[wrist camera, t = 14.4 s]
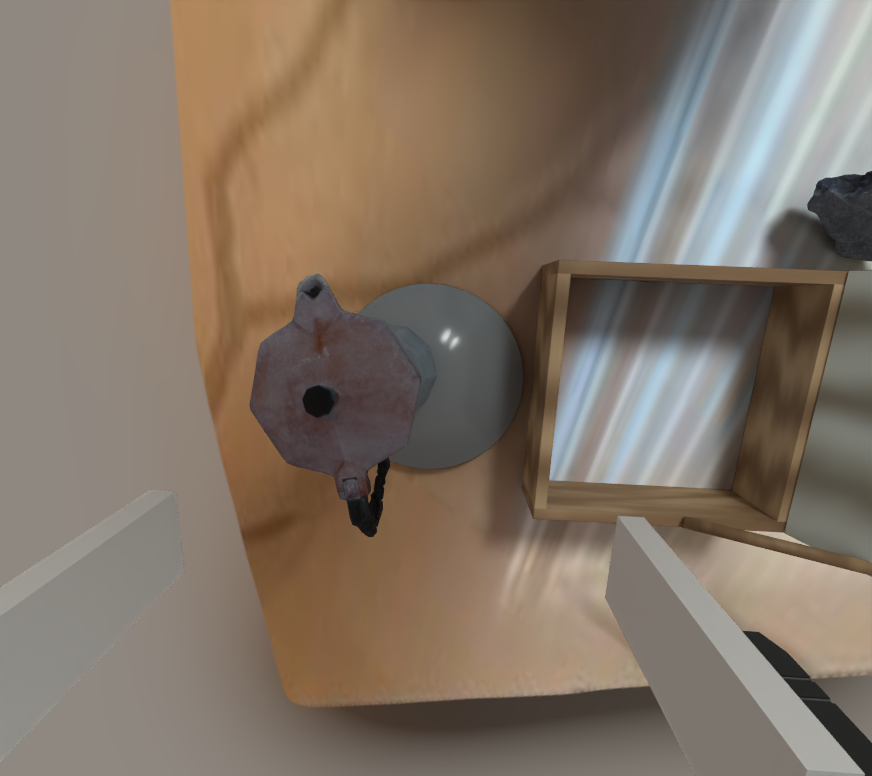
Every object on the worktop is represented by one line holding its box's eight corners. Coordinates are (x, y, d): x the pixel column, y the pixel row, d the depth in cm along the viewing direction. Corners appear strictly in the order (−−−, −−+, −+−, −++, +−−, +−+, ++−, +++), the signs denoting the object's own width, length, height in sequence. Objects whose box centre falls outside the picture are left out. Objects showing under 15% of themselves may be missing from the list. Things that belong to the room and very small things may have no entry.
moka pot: (420, 279, 38) (374, 239, 18) (461, 438, 40) (461, 558, 20) (321, 306, 39) (176, 297, 19) (367, 460, 41) (280, 594, 21)
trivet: (336, 279, 39) (333, 279, 38) (529, 287, 38) (531, 287, 37) (338, 460, 43) (335, 464, 42) (513, 469, 42) (515, 473, 41)
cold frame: (542, 265, 38) (745, 197, 12) (877, 278, 37) (1890, 236, 11) (522, 488, 43) (634, 791, 17) (818, 503, 42) (1428, 847, 16)
